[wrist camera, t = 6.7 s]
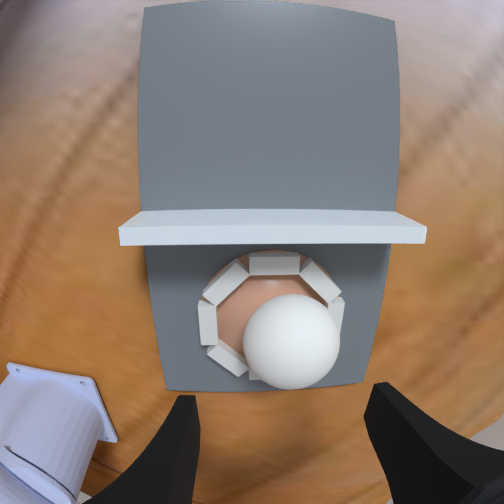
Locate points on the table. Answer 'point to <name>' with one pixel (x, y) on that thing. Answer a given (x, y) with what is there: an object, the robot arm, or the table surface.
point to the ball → (291, 341)
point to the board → (265, 178)
